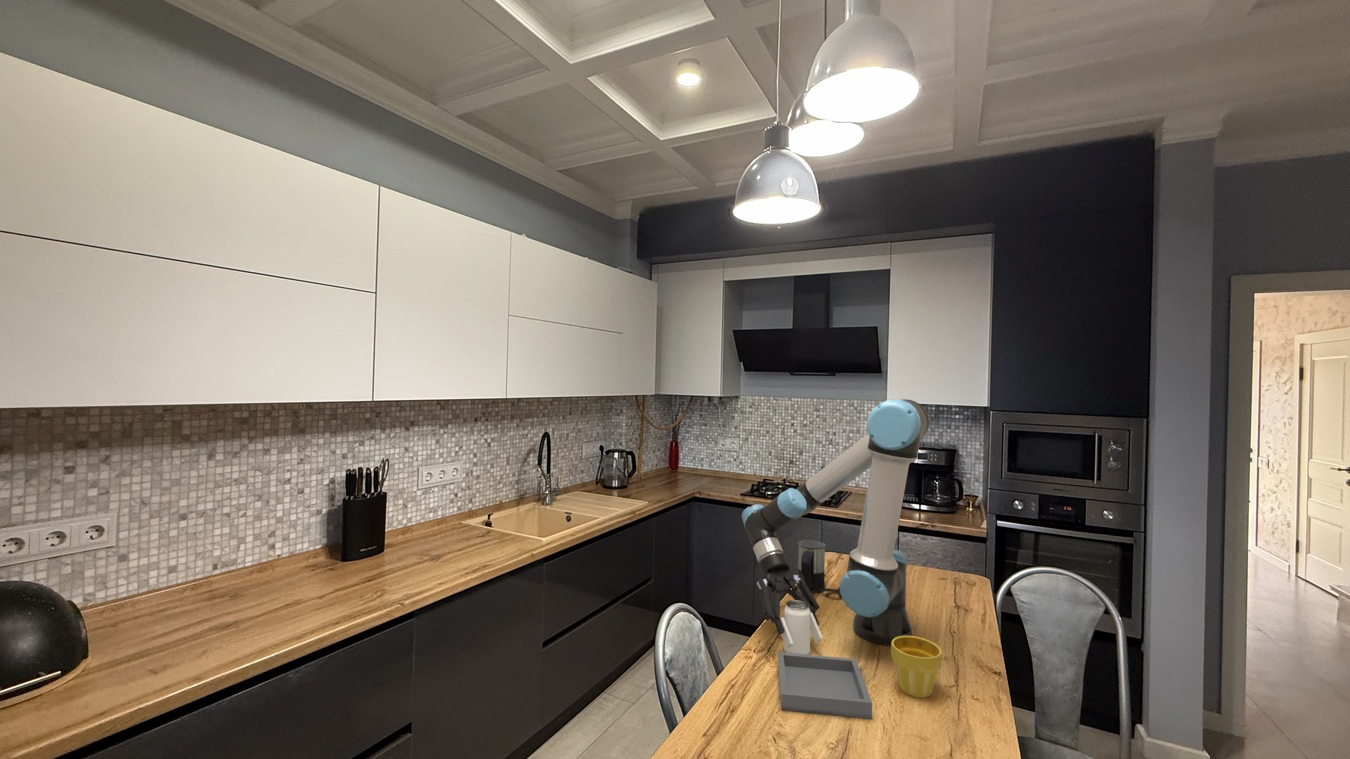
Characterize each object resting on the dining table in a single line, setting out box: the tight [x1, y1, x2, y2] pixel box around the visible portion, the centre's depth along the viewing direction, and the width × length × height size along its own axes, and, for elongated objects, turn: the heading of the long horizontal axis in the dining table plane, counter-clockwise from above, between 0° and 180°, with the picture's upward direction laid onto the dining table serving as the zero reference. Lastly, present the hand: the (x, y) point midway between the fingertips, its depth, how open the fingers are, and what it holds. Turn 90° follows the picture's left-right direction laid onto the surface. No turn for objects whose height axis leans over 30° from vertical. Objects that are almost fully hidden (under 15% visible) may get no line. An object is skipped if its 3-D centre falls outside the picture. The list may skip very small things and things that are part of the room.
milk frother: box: [796, 539, 841, 596], centre depth 179 cm, size 14×16×15 cm
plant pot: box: [890, 635, 943, 699], centre depth 122 cm, size 10×10×10 cm
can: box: [783, 599, 811, 655], centre depth 138 cm, size 6×6×12 cm
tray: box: [777, 651, 873, 720], centre depth 121 cm, size 18×18×3 cm
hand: (804, 643), depth 135 cm, fingers open, 8 cm apart
